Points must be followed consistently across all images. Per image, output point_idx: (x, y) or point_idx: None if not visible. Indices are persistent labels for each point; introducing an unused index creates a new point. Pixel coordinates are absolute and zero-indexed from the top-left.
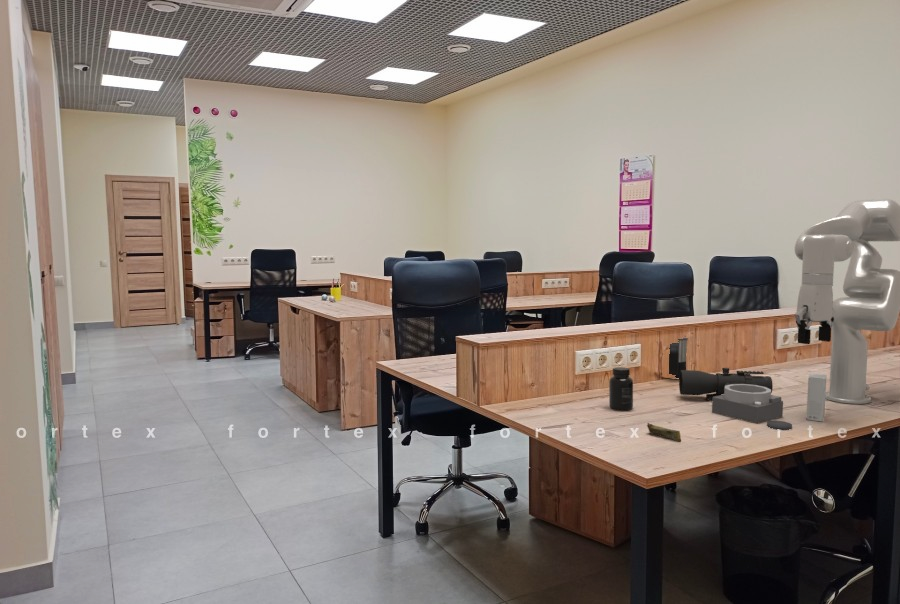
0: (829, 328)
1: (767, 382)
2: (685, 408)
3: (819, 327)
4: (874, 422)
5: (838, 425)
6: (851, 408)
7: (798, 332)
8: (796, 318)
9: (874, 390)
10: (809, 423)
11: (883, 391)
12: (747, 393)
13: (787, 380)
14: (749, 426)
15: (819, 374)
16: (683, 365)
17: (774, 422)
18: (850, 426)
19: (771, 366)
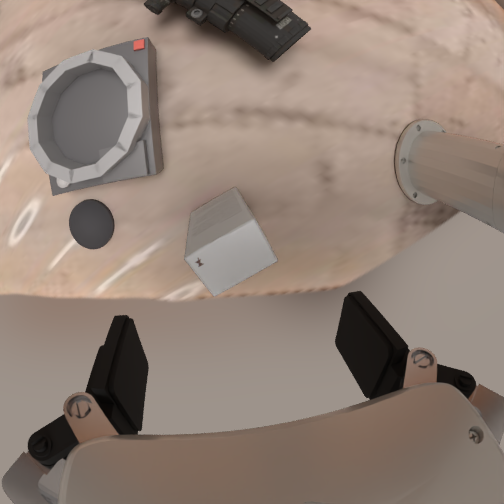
0: (367, 397)
1: (268, 45)
2: (49, 35)
3: (386, 352)
4: (296, 285)
5: None
6: (370, 203)
7: (99, 365)
8: (19, 465)
9: None
10: (170, 234)
11: None
12: (39, 162)
13: (458, 31)
14: (46, 195)
15: (265, 246)
16: None
17: (86, 215)
18: None
19: (490, 3)
